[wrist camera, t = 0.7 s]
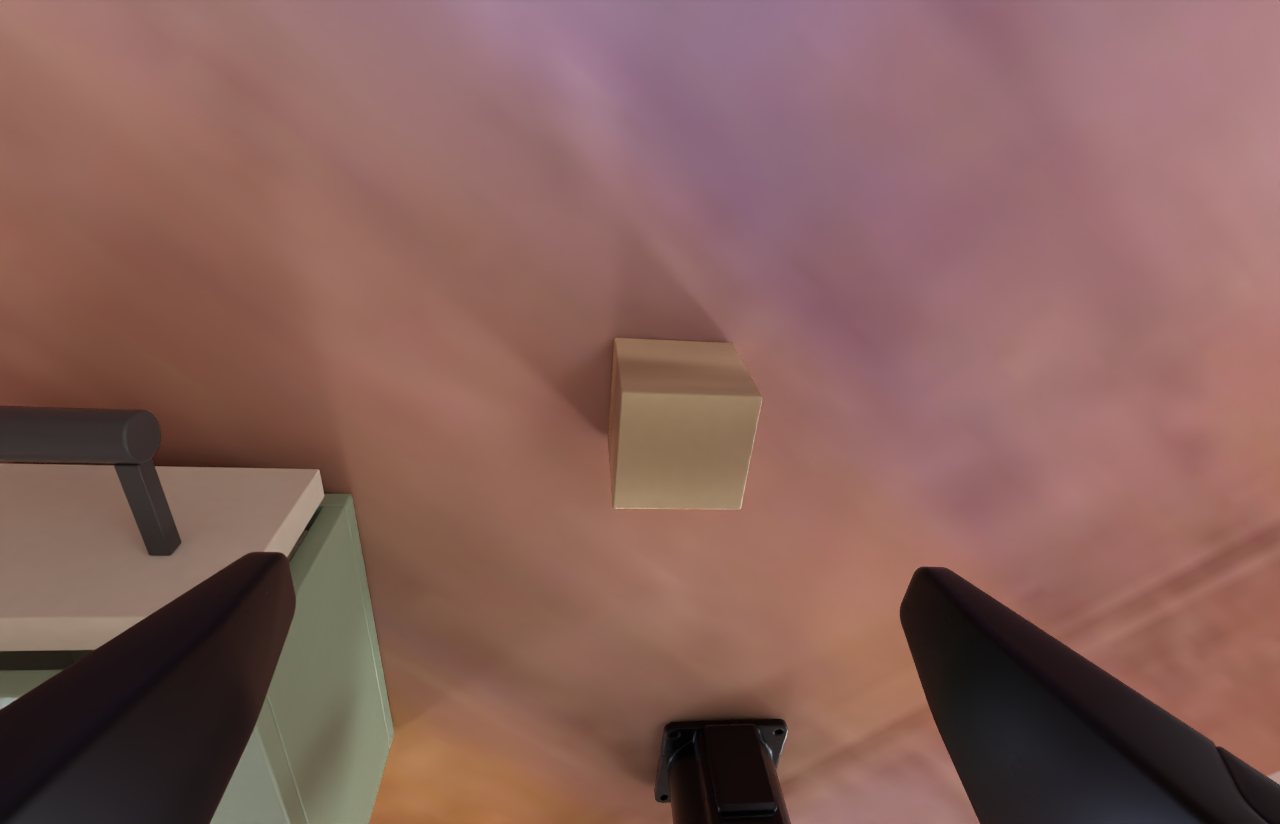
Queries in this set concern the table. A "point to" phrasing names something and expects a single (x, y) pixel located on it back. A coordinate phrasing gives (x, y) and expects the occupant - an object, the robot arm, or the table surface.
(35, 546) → the drawer
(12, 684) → the cabinet
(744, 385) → the block
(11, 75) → the table surface
